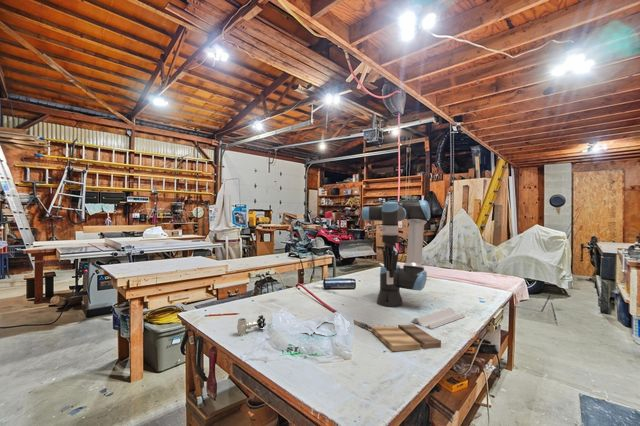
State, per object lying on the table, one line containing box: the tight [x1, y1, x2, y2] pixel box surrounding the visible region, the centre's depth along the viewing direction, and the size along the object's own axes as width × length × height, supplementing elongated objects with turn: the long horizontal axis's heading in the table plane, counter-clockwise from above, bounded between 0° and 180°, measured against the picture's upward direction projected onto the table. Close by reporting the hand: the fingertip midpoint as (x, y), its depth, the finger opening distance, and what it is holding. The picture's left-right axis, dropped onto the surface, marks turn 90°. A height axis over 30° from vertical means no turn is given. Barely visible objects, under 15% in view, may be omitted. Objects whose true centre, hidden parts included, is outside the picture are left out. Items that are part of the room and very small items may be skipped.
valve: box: [236, 314, 267, 337], centre depth 127 cm, size 7×7×12 cm
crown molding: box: [410, 307, 466, 330], centre depth 148 cm, size 31×12×4 cm, turn 126°
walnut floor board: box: [397, 323, 442, 350], centre depth 124 cm, size 20×8×2 cm, turn 14°
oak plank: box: [370, 325, 421, 352], centre depth 122 cm, size 20×12×2 cm, turn 14°
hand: (389, 283), depth 136 cm, fingers closed
